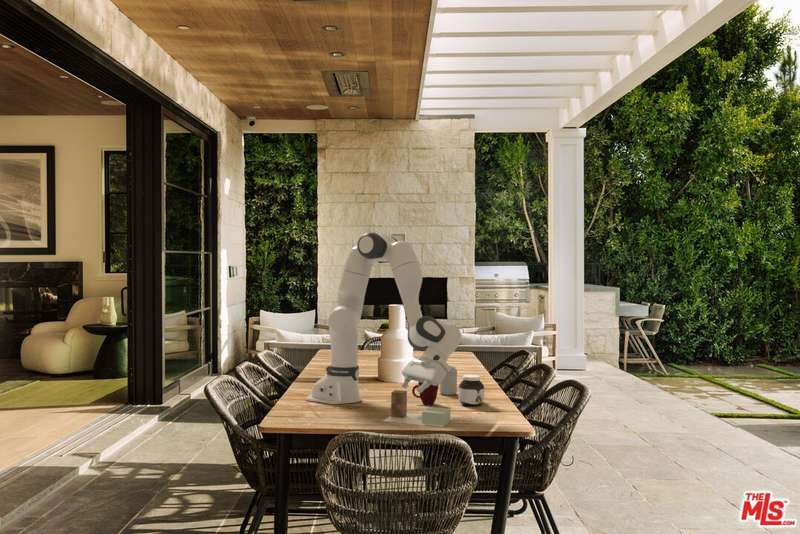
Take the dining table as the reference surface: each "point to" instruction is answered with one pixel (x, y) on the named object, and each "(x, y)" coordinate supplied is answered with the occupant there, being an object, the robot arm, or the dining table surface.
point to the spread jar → (471, 391)
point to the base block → (436, 416)
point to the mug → (427, 394)
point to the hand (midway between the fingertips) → (411, 389)
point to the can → (449, 382)
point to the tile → (411, 420)
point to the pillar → (398, 404)
